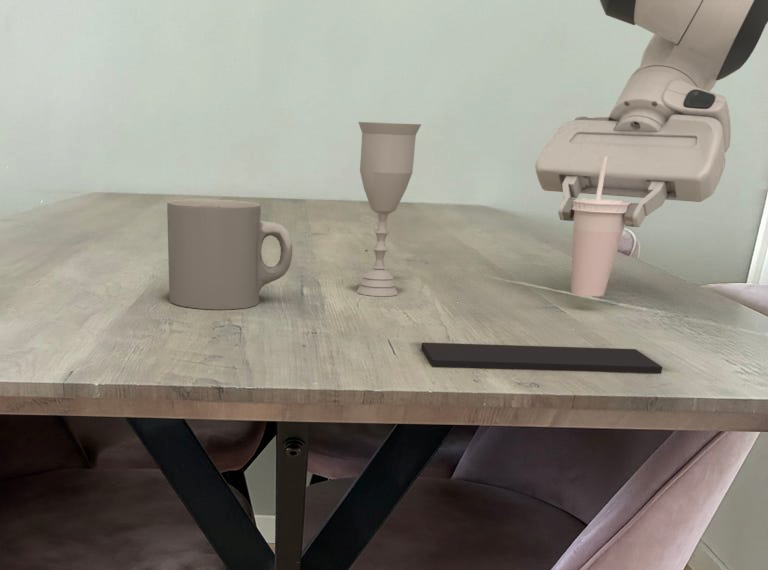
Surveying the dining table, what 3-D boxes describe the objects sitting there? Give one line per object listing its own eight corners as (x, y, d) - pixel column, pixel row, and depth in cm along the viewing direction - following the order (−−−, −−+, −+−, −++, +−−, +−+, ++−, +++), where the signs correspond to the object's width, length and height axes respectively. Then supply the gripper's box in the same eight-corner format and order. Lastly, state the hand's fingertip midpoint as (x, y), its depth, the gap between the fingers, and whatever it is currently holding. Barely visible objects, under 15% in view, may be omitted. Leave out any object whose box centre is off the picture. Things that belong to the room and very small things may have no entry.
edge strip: (634, 355, 89) (635, 349, 88) (661, 373, 83) (662, 366, 82) (420, 349, 88) (421, 342, 88) (432, 366, 82) (432, 359, 82)
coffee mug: (160, 306, 102) (157, 204, 97) (180, 291, 111) (178, 197, 106) (284, 313, 101) (287, 210, 96) (294, 298, 110) (297, 203, 105)
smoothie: (568, 287, 113) (589, 155, 106) (622, 293, 110) (647, 157, 103) (551, 294, 108) (572, 156, 101) (608, 300, 105) (633, 158, 98)
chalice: (379, 285, 119) (391, 122, 111) (418, 294, 115) (434, 124, 106) (335, 290, 115) (345, 121, 106) (375, 299, 111) (388, 123, 102)
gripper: (560, 95, 110) (506, 191, 108) (742, 97, 98) (685, 205, 97) (571, 139, 115) (520, 231, 113) (745, 146, 104) (691, 249, 102)
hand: (597, 219), depth 105 cm, fingers closed on smoothie, 6 cm apart
